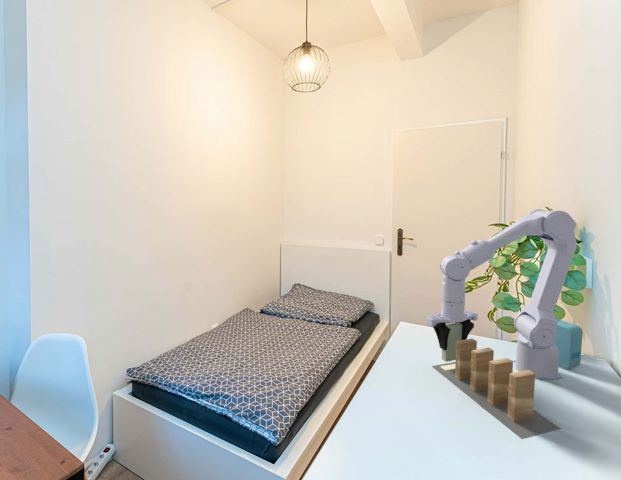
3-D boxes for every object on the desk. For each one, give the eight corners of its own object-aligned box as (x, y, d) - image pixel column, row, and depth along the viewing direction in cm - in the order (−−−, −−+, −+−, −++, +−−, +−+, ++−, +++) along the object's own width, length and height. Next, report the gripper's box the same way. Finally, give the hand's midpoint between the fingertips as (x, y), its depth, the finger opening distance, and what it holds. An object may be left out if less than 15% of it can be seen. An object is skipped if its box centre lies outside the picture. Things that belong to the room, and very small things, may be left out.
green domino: (441, 358, 90) (442, 324, 89) (457, 356, 91) (458, 322, 90) (445, 361, 89) (446, 326, 87) (461, 358, 90) (462, 324, 88)
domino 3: (487, 401, 74) (489, 361, 73) (505, 398, 76) (507, 357, 74) (492, 406, 73) (494, 364, 72) (510, 402, 74) (513, 361, 73)
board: (461, 363, 93) (461, 360, 93) (561, 432, 66) (561, 428, 65) (431, 368, 91) (431, 365, 91) (521, 442, 63) (521, 438, 63)
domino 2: (470, 388, 80) (471, 350, 79) (487, 385, 81) (488, 347, 80) (474, 392, 78) (476, 353, 77) (492, 388, 79) (493, 350, 78)
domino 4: (507, 417, 69) (509, 373, 68) (525, 412, 70) (528, 369, 69) (513, 422, 68) (516, 377, 66) (532, 417, 69) (535, 373, 68)
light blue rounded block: (580, 368, 89) (583, 326, 88) (569, 371, 88) (572, 329, 86) (536, 349, 100) (539, 312, 99) (526, 352, 99) (528, 315, 97)
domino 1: (455, 377, 85) (456, 341, 84) (471, 374, 86) (472, 338, 85) (459, 380, 84) (460, 343, 82) (475, 377, 85) (476, 341, 83)
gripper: (465, 293, 93) (463, 338, 95) (421, 298, 90) (420, 344, 92) (484, 300, 87) (482, 348, 88) (437, 306, 83) (435, 356, 85)
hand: (451, 347), depth 89 cm, fingers closed on green domino, 5 cm apart
